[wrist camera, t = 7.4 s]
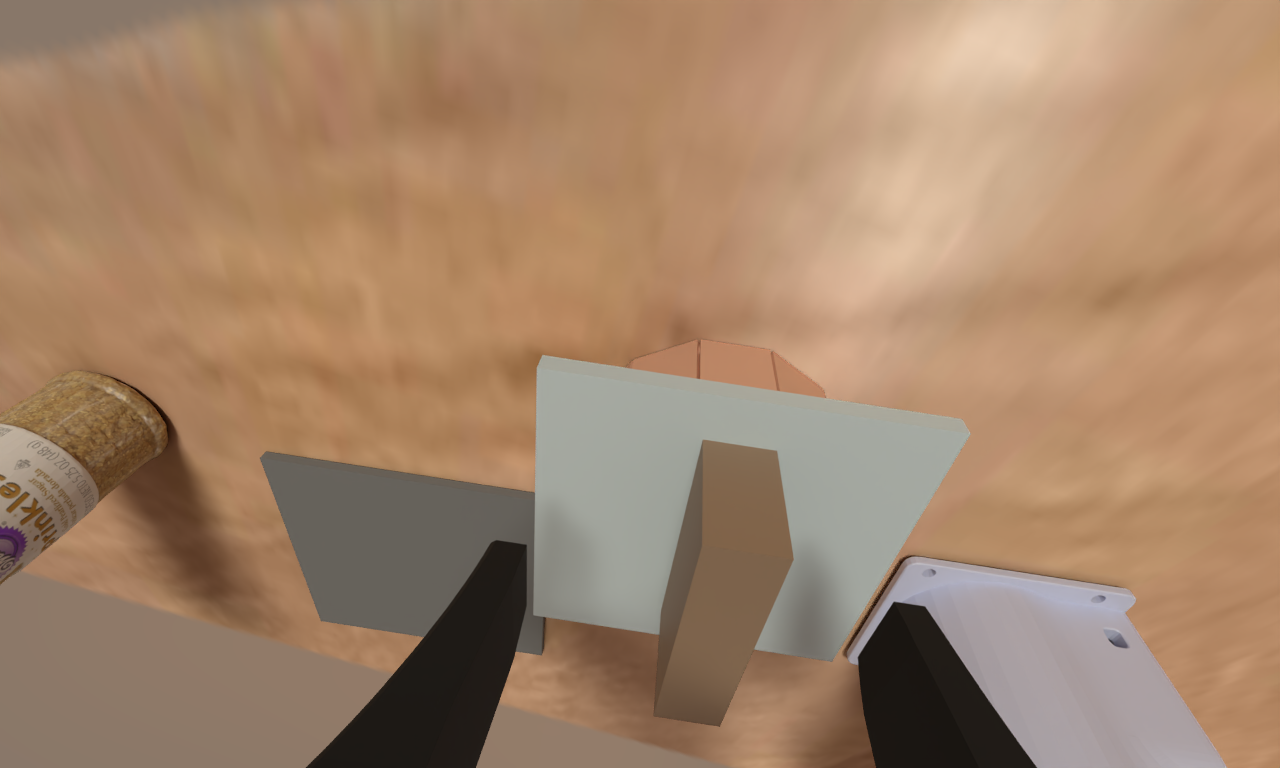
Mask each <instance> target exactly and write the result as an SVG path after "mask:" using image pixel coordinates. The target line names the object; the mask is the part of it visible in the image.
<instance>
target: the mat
mask: <svg viewBox="0 0 1280 768" xmlns="http://www.w3.org/2000/svg"><path fill="white" fill-rule="evenodd" d="M260 460H261V462H262V465H263V468H264V470H265V473H266V476H267V478H268V481H269V484H270V486H271V489H272V492H273V494H274V497H275V500H276V502H277V505H278V508H279V510H280V513H281V516H282V518H283V521H284V524H285V526H286V529H287V532H288V534H289V537H290V540H291V542H292V545H293V548H294V550H295V553H296V556H297V558H298V561H299V564H300V566H301V569H302V572H303V574H304V577H305V580H306V582H307V585H308V588H309V590H310V593H311V596H312V598H313V601H314V604H315V606H316V609H317V612H318V614H319V617H320V620H321V621H325V622H331V623H338V624H344V625H350V626H357V627H363V628H370V629H376V630H382V631H389V632H395V633H402V634H408V635H414V636H421V637H425V636H426V634H427V633H428V632H429V630H430V629H431V628H432V626H433V625H434V624H435V623H436V621H437V620H438V619H439V617H440V616H441V615H442V614H443V612H444V611H445V610H446V608H447V607H448V606H449V604H450V603H451V602H452V600H453V599H454V597H455V596H456V595H457V593H458V592H459V590H460V589H461V588H462V586H463V585H464V583H465V582H466V581H467V579H468V578H469V576H470V575H471V573H472V572H473V570H474V569H475V567H476V566H477V564H478V563H479V561H480V559H481V558H482V556H483V555H484V553H485V551H486V550H487V548H488V546H489V545H490V543H491V542H493V541H495V540H500V541H506V542H513V543H519V544H525V545H527V607H526V611H525V615H524V619H523V623H522V627H521V632H520V636H519V640H518V644H517V648H516V651H517V652H523V653H530V654H536V655H542V653H543V648H544V621H545V617H541V616H535V615H533V602H534V534H535V493H532V492H525V491H519V490H512V489H506V488H499V487H493V486H486V485H480V484H473V483H467V482H460V481H454V480H447V479H441V478H434V477H428V476H421V475H415V474H408V473H402V472H395V471H389V470H382V469H376V468H369V467H363V466H356V465H350V464H343V463H337V462H330V461H324V460H317V459H311V458H304V457H298V456H291V455H285V454H278V453H272V452H265V453H264V454H263V455H262V456H261V457H260Z"/></svg>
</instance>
